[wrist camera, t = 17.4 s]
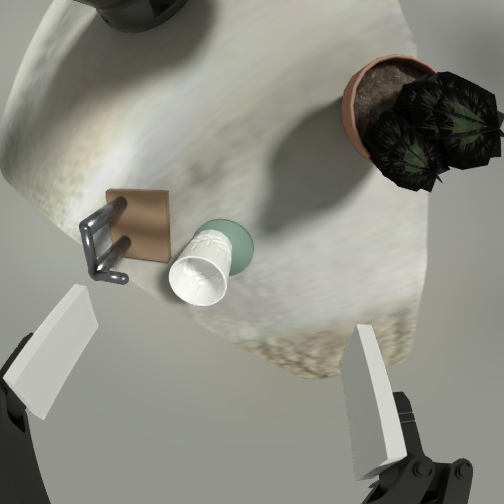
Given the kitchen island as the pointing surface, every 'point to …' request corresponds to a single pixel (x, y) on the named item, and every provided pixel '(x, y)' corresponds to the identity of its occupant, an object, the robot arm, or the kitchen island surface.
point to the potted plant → (419, 120)
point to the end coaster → (233, 242)
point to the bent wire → (111, 256)
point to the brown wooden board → (143, 223)
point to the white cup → (202, 269)
